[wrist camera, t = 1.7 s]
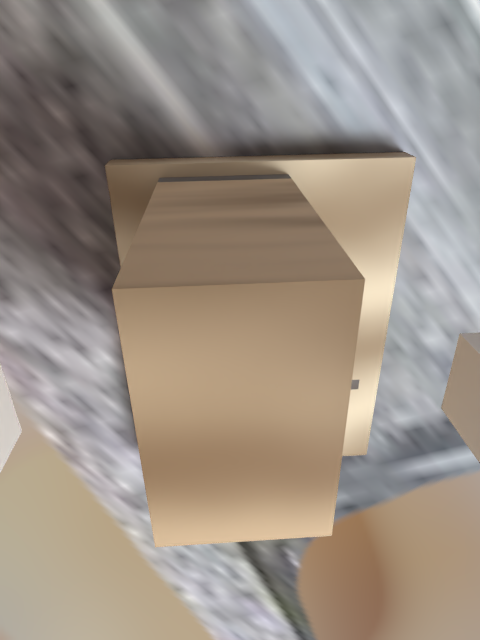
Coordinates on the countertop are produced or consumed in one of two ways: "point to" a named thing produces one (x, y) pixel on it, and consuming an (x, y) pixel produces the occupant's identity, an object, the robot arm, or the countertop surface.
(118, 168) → the board
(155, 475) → the block
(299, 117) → the countertop surface
